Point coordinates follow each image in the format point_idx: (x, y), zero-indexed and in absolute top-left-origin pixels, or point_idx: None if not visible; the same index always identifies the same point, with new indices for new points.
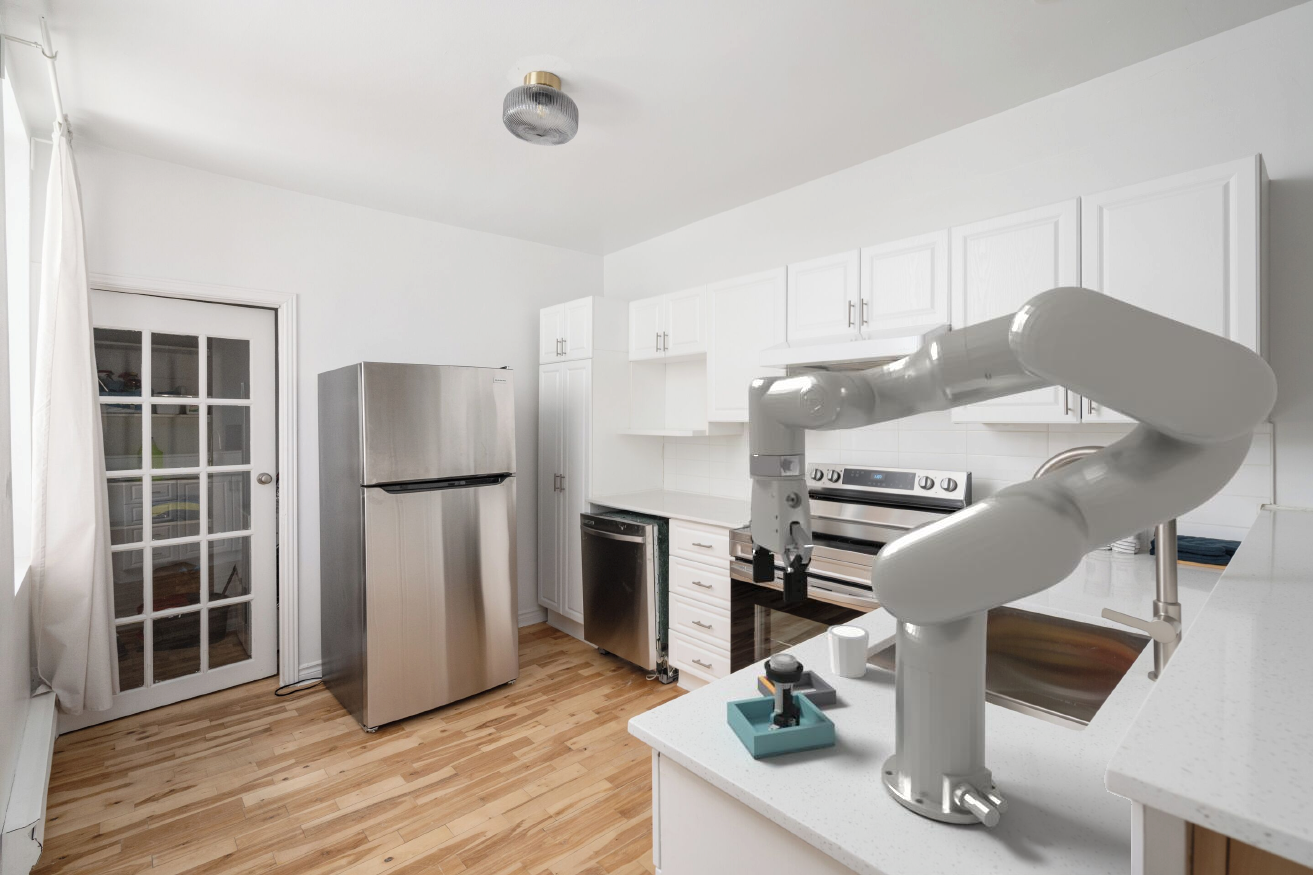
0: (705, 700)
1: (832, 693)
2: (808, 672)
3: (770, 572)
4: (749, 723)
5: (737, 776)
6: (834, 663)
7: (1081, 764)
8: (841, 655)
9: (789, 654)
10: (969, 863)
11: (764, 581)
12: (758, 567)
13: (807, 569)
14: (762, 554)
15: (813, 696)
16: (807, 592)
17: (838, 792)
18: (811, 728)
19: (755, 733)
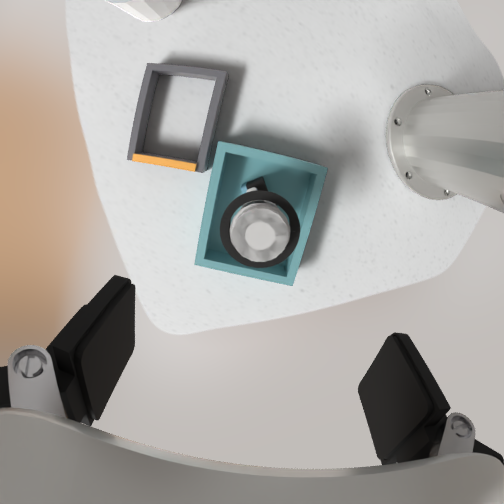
0: (135, 244)
1: (225, 78)
2: (151, 71)
3: (118, 318)
4: (262, 272)
5: (305, 304)
6: (147, 17)
7: (452, 3)
8: (155, 6)
9: (249, 210)
10: (480, 213)
11: (133, 320)
12: (111, 379)
13: (465, 425)
14: (80, 404)
15: (217, 111)
16: (415, 347)
17: (384, 233)
18: (317, 204)
19: (287, 280)
